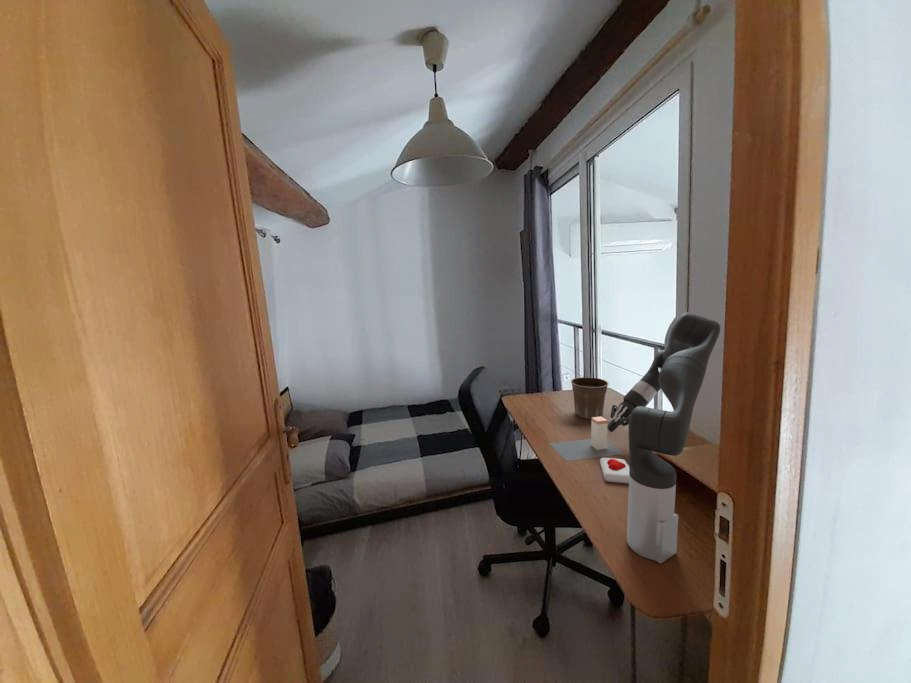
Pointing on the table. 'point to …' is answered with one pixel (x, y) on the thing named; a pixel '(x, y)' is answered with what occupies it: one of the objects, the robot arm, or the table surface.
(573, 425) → the table surface
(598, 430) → the cream block
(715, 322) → the robot arm
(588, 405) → the plant pot
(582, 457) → the grey rectangular mat
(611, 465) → the icon
